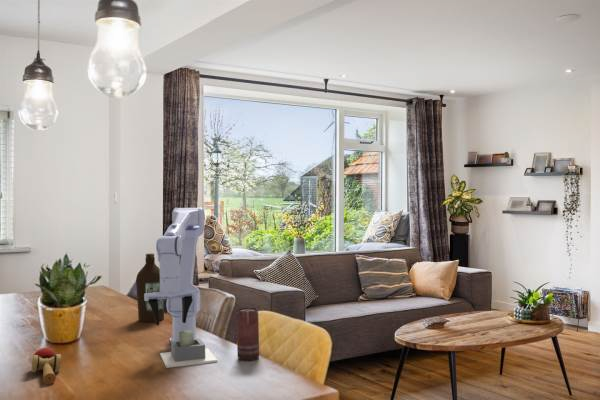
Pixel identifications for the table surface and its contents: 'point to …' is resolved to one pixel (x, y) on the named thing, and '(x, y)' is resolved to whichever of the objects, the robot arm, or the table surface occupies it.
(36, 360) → the kendama
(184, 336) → the peg
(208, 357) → the socket
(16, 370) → the table surface
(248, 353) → the can
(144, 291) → the olive oil
